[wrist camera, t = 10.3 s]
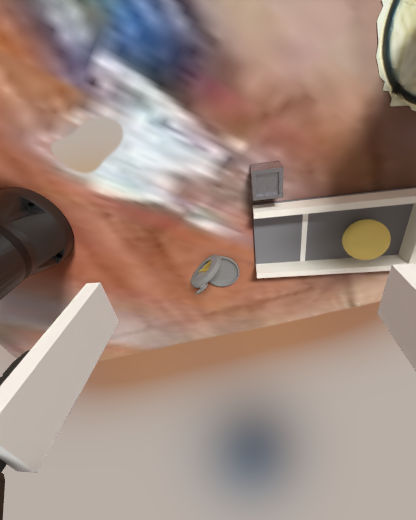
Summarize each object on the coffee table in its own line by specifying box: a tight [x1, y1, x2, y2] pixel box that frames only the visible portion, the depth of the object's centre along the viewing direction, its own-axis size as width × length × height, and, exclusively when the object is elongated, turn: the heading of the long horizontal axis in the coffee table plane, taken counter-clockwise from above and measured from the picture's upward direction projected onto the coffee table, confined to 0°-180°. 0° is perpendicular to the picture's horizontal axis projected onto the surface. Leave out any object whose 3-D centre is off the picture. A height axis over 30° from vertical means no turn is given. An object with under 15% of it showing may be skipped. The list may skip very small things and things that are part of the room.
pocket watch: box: [191, 255, 239, 294], centre depth 41 cm, size 8×8×10 cm
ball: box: [342, 219, 391, 260], centre depth 36 cm, size 6×6×6 cm
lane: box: [252, 187, 416, 278], centre depth 38 cm, size 24×12×4 cm, turn 99°
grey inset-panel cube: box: [250, 161, 283, 201], centre depth 34 cm, size 4×4×4 cm
